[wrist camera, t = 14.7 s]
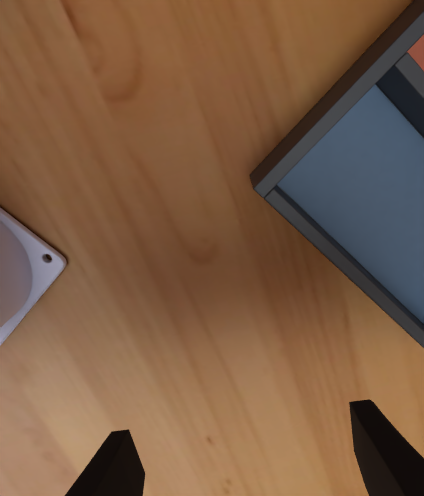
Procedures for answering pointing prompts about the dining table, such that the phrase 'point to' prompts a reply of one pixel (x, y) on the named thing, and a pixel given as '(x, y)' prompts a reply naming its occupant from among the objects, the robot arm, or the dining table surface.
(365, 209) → the organizer
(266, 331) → the dining table surface
